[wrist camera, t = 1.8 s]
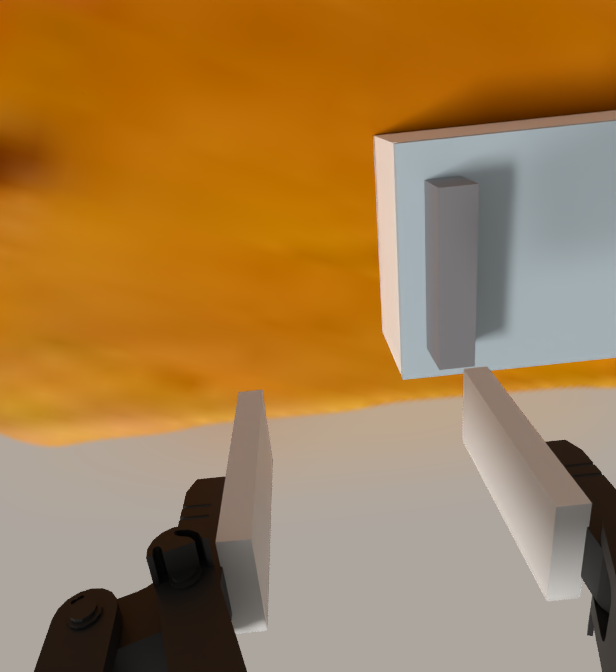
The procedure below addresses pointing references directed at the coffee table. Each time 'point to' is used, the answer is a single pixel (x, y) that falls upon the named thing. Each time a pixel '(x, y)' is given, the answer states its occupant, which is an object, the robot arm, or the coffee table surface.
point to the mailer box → (388, 210)
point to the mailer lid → (506, 249)
